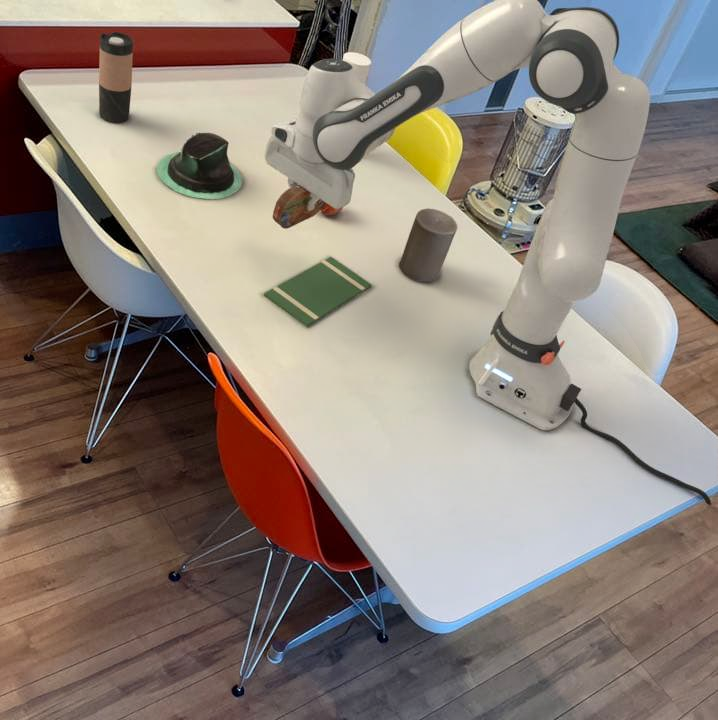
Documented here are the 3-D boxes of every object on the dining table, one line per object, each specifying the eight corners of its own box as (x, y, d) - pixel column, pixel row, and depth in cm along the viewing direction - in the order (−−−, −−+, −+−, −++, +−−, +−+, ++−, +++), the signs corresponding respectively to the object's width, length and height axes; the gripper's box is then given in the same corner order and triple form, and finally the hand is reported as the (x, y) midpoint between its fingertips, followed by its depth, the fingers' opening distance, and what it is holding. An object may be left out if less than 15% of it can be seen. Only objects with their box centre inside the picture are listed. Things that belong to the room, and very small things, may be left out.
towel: (371, 286, 172) (372, 284, 171) (306, 326, 157) (307, 324, 156) (330, 258, 175) (330, 256, 175) (263, 295, 161) (264, 292, 160)
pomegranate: (306, 220, 188) (338, 215, 182) (300, 189, 186) (331, 183, 180) (326, 214, 194) (357, 209, 187) (319, 184, 192) (350, 178, 185)
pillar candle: (390, 264, 179) (408, 210, 169) (416, 252, 186) (435, 199, 176) (421, 288, 176) (442, 233, 166) (447, 274, 182) (468, 221, 172)
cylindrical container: (353, 148, 215) (376, 61, 198) (339, 156, 210) (361, 67, 193) (332, 137, 217) (353, 50, 200) (318, 144, 212) (338, 55, 195)
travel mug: (126, 126, 195) (129, 48, 181) (94, 119, 193) (95, 40, 180) (133, 112, 200) (136, 36, 187) (102, 105, 199) (104, 28, 186)
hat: (227, 207, 178) (142, 183, 178) (242, 205, 197) (165, 183, 196) (242, 141, 175) (156, 117, 175) (256, 145, 193) (177, 123, 193)
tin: (276, 234, 155) (288, 201, 149) (265, 224, 156) (276, 191, 150) (323, 212, 165) (336, 180, 160) (312, 203, 166) (325, 171, 160)
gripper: (366, 164, 148) (349, 224, 157) (287, 115, 154) (275, 175, 163) (346, 173, 143) (330, 234, 153) (265, 122, 150) (254, 183, 159)
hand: (301, 203), depth 158 cm, fingers closed on tin, 2 cm apart
